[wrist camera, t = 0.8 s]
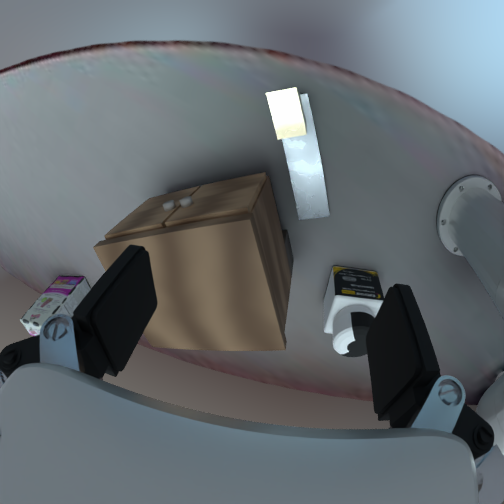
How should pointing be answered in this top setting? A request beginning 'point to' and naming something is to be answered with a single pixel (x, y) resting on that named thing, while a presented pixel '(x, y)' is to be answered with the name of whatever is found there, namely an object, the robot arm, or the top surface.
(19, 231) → the top surface
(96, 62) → the top surface
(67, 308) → the candy bar box
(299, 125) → the wood and grey l-block
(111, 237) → the cabinet
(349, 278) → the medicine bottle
